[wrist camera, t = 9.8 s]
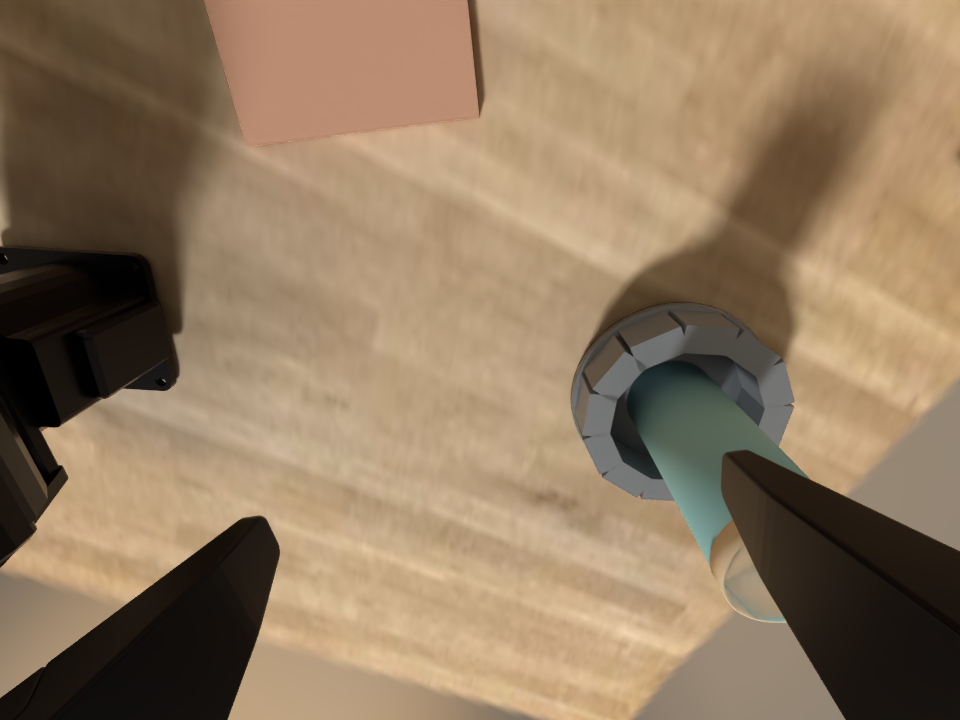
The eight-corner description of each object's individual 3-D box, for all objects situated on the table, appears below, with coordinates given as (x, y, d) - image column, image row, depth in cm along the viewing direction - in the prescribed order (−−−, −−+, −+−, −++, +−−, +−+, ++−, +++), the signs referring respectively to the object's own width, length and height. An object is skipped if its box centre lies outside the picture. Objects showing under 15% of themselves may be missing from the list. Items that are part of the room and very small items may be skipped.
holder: (559, 464, 24) (566, 497, 22) (586, 295, 21) (599, 314, 18) (732, 474, 25) (758, 509, 22) (790, 308, 21) (829, 329, 18)
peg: (618, 432, 23) (705, 619, 14) (634, 356, 21) (746, 512, 12) (700, 437, 23) (841, 626, 14) (723, 362, 21) (901, 521, 12)
